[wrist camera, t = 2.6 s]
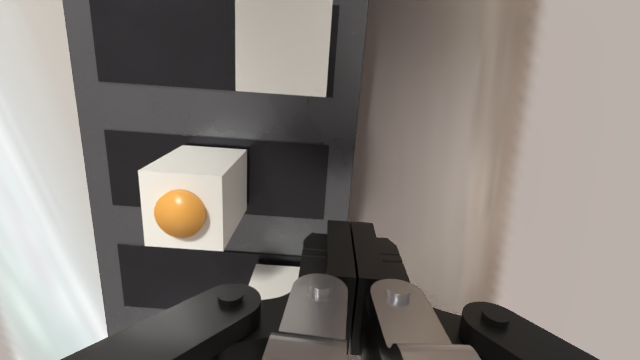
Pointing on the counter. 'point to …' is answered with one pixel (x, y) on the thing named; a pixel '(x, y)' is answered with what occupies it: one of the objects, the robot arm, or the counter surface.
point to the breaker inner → (282, 46)
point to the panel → (203, 141)
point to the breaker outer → (273, 280)
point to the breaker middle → (193, 197)
